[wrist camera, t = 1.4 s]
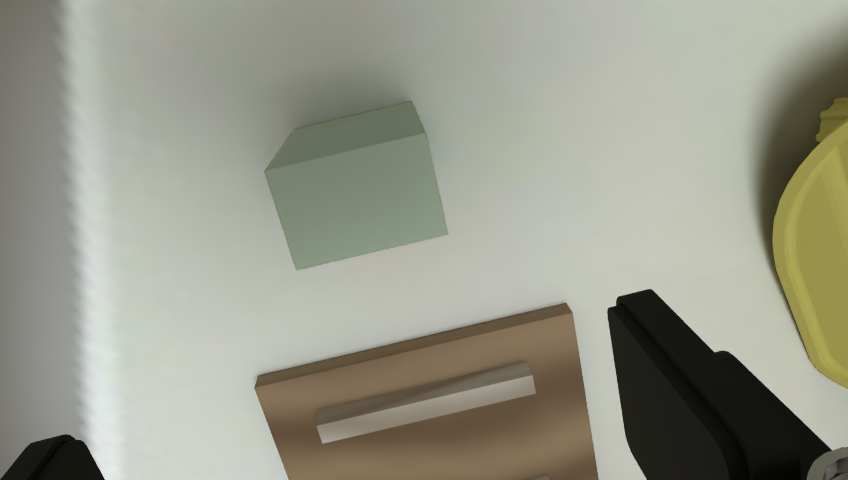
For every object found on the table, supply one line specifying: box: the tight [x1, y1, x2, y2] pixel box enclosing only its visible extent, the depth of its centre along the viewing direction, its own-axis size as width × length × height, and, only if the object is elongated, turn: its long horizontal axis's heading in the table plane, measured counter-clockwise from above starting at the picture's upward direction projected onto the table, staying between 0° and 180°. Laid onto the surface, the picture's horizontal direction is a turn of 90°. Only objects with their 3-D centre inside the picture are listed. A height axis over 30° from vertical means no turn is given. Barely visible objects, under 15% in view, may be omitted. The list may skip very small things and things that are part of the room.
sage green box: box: [264, 101, 448, 270], centre depth 27 cm, size 4×6×9 cm
